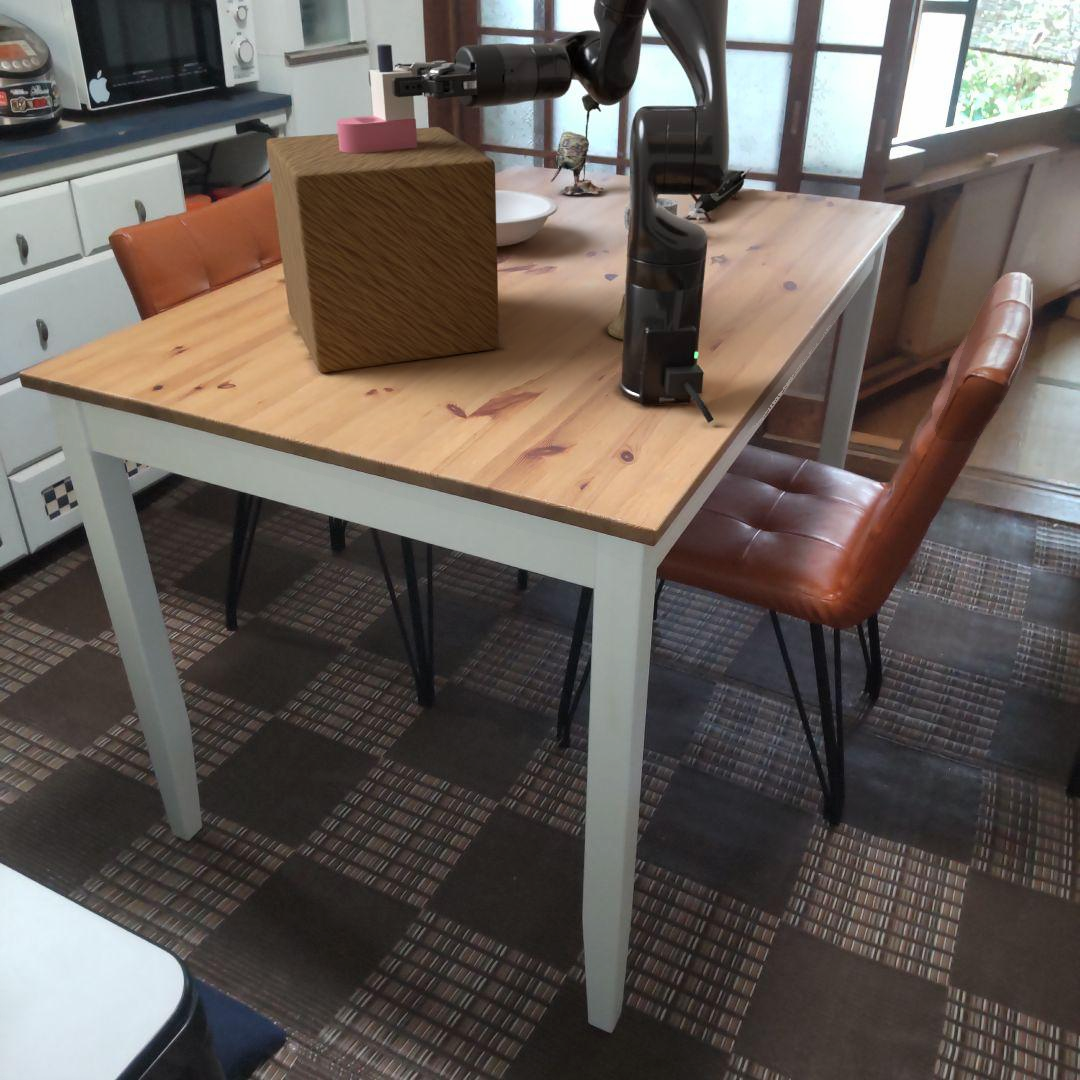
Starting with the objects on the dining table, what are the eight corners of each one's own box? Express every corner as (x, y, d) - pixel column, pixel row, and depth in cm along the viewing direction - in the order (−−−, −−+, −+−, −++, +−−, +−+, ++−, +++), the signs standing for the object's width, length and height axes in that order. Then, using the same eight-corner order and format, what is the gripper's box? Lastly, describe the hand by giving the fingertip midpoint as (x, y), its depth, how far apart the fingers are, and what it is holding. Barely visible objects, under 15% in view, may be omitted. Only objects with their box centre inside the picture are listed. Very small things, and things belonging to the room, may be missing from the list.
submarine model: (690, 236, 197) (731, 205, 191) (670, 207, 196) (711, 175, 190) (733, 201, 221) (771, 173, 215) (716, 175, 220) (753, 146, 214)
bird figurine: (561, 186, 223) (562, 87, 212) (608, 191, 218) (612, 91, 208) (545, 194, 216) (545, 92, 206) (594, 199, 212) (596, 96, 202)
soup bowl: (399, 241, 185) (396, 204, 182) (500, 218, 199) (499, 183, 195) (481, 270, 170) (480, 230, 167) (584, 243, 184) (585, 206, 180)
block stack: (403, 140, 136) (396, 41, 130) (417, 147, 132) (411, 45, 126) (334, 147, 132) (323, 45, 126) (347, 154, 128) (337, 50, 122)
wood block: (288, 314, 151) (264, 137, 138) (449, 295, 159) (441, 125, 146) (318, 375, 132) (293, 175, 118) (500, 349, 139) (496, 159, 126)
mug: (680, 237, 188) (683, 200, 184) (667, 245, 183) (669, 208, 179) (630, 230, 192) (632, 194, 188) (616, 238, 187) (617, 201, 183)
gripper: (472, 39, 138) (359, 45, 132) (520, 49, 128) (399, 56, 121) (474, 98, 142) (364, 107, 136) (520, 113, 132) (404, 123, 125)
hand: (381, 83), depth 129 cm, fingers open, 8 cm apart
